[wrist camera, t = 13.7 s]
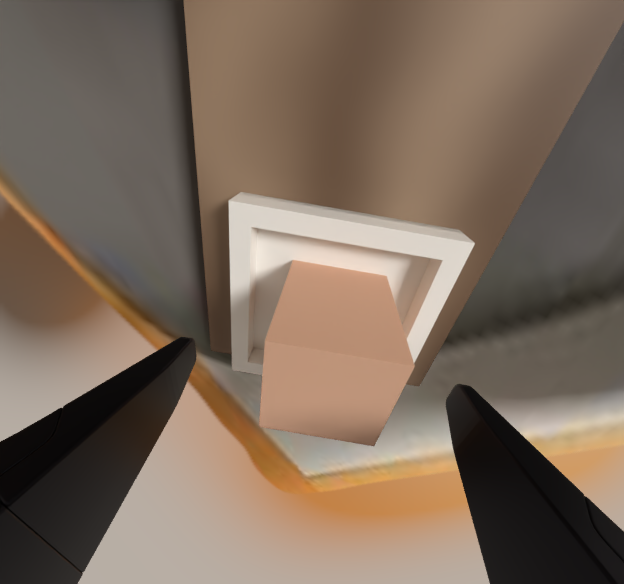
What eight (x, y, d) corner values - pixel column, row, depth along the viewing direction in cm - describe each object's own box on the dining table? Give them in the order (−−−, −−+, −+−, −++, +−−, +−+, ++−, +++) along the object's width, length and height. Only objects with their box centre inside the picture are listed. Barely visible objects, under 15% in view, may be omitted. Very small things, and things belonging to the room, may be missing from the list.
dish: (459, 229, 10) (474, 243, 9) (391, 376, 15) (396, 398, 14) (241, 192, 10) (228, 200, 9) (240, 350, 15) (231, 370, 14)
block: (386, 275, 11) (414, 366, 7) (363, 344, 13) (374, 445, 9) (292, 259, 11) (264, 340, 7) (284, 331, 13) (259, 426, 9)
